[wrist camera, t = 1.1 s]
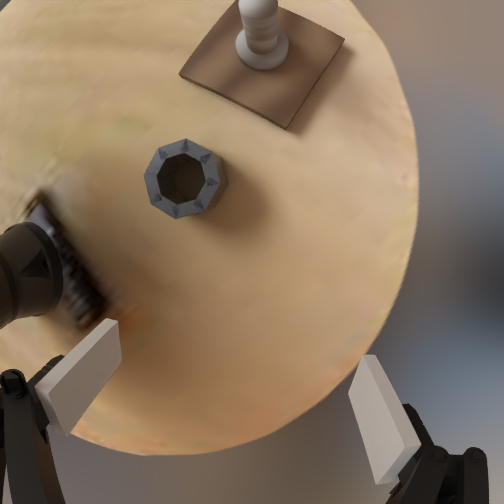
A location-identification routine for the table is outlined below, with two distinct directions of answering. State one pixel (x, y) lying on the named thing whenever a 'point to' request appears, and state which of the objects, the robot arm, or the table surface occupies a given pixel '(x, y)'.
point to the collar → (163, 184)
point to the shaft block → (262, 58)
